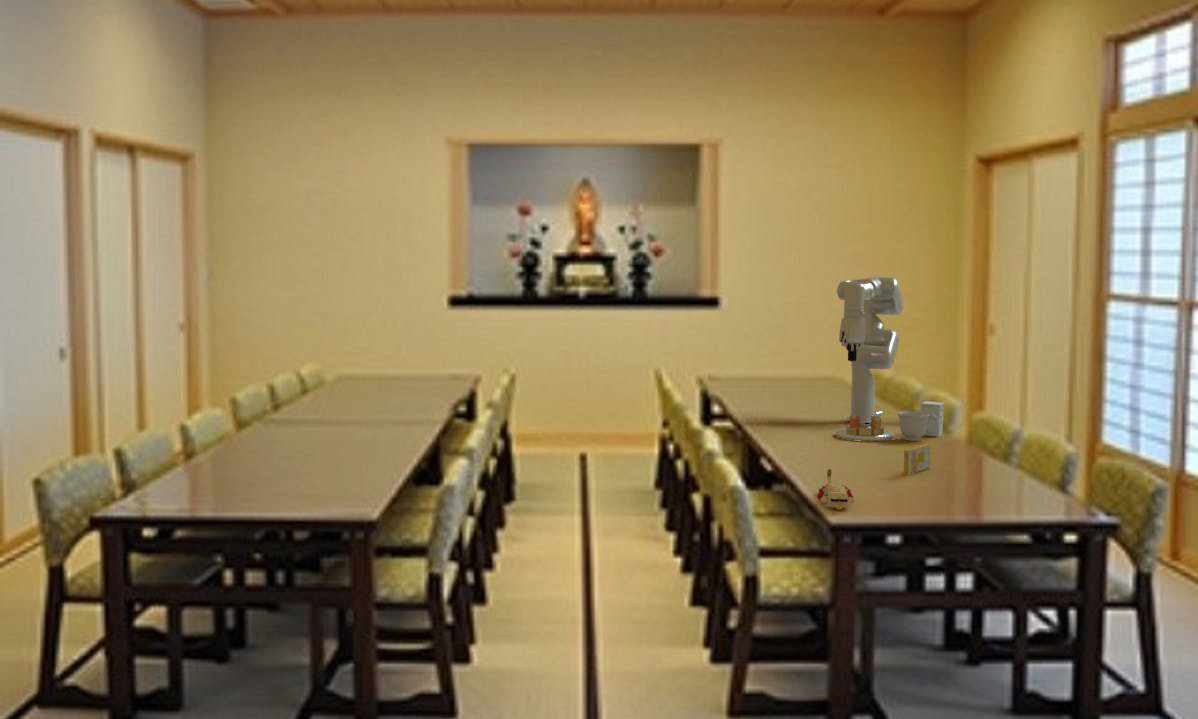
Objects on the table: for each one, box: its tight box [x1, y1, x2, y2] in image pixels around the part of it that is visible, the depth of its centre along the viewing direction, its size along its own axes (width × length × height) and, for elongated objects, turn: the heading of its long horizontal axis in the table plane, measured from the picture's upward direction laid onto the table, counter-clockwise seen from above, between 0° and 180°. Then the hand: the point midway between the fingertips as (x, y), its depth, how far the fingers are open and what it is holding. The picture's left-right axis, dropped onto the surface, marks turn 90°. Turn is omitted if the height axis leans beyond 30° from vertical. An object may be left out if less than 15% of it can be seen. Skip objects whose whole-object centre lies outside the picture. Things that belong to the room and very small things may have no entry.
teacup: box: [897, 410, 938, 442], centre depth 469 cm, size 12×15×10 cm
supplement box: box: [920, 400, 945, 438], centre depth 482 cm, size 7×7×13 cm
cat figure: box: [816, 468, 855, 510], centre depth 357 cm, size 10×9×25 cm
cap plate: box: [835, 425, 896, 442], centre depth 475 cm, size 22×22×4 cm
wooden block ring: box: [845, 414, 885, 436], centre depth 474 cm, size 14×14×6 cm
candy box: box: [903, 443, 931, 476], centre depth 406 cm, size 16×2×8 cm, turn 141°
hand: (852, 360), depth 492 cm, fingers closed
